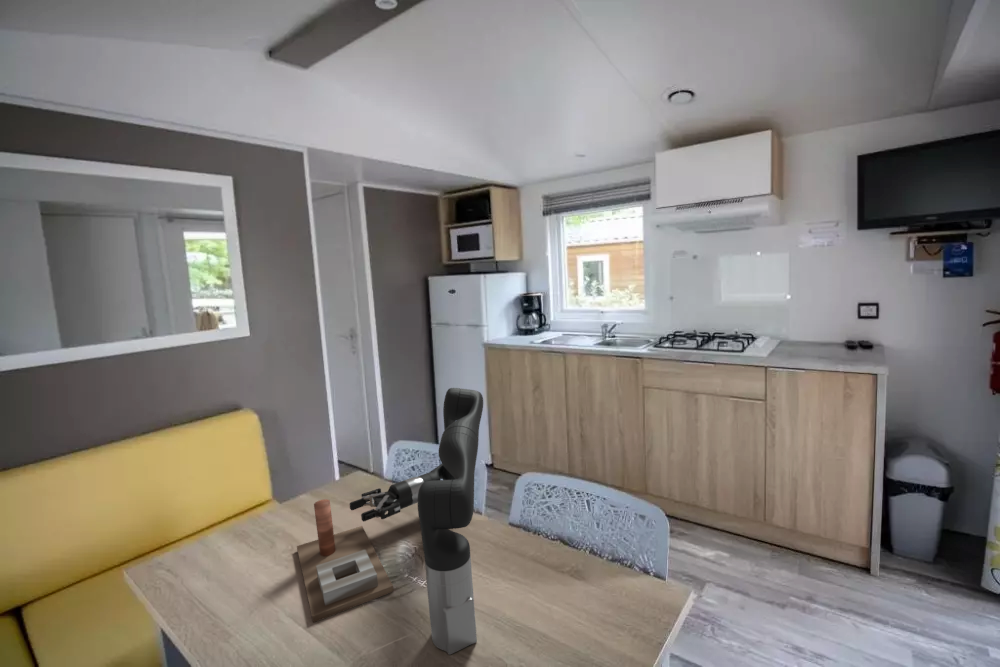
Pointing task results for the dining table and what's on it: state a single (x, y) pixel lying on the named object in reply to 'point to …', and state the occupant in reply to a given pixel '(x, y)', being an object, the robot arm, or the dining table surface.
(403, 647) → the dining table surface
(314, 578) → the socket board
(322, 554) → the pin
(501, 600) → the dining table surface
